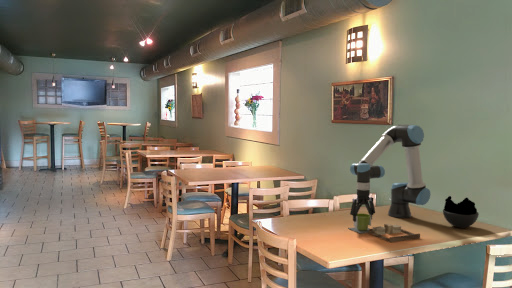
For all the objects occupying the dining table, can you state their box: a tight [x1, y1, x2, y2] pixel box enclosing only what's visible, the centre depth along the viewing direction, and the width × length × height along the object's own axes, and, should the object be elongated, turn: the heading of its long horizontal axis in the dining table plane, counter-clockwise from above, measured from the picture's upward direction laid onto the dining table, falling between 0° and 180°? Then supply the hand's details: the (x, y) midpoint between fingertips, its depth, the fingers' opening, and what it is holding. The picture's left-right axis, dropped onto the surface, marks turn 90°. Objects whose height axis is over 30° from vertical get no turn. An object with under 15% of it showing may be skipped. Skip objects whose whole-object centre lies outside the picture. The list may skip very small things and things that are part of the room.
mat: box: [348, 226, 371, 235], centre depth 245 cm, size 12×12×1 cm
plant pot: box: [357, 212, 371, 230], centre depth 245 cm, size 9×9×9 cm
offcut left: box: [372, 225, 386, 236], centre depth 238 cm, size 4×6×4 cm, turn 115°
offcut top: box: [383, 223, 394, 235], centre depth 240 cm, size 4×5×3 cm
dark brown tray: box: [367, 228, 421, 243], centre depth 234 cm, size 19×21×2 cm
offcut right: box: [392, 224, 402, 235], centre depth 242 cm, size 4×6×4 cm, turn 110°
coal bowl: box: [442, 195, 480, 229], centre depth 253 cm, size 20×20×19 cm
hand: (362, 225), depth 245 cm, fingers closed on plant pot, 9 cm apart
